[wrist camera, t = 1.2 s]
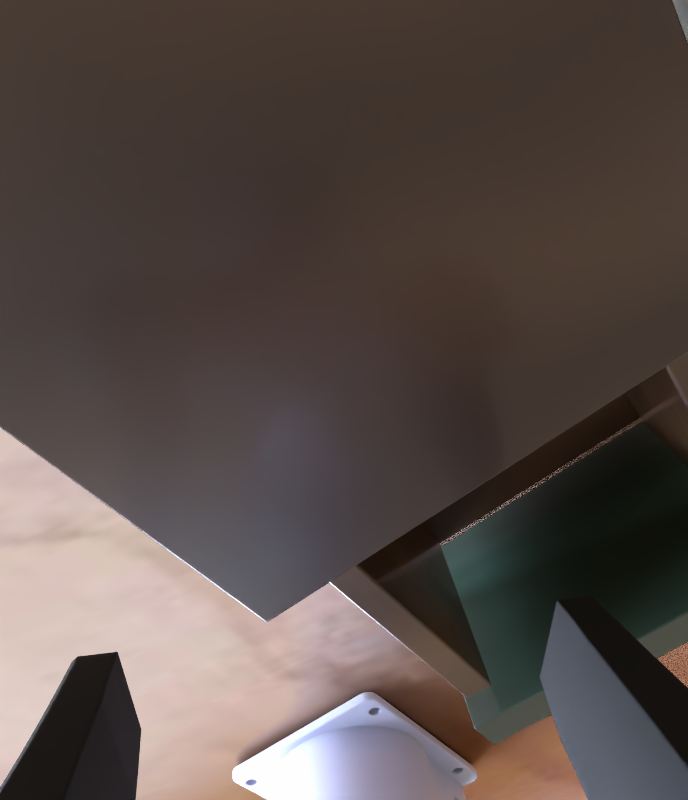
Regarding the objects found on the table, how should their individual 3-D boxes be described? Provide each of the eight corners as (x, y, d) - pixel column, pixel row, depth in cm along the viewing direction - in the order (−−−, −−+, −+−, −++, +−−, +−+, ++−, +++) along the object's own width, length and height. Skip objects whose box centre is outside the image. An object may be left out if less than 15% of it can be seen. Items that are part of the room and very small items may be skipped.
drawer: (722, 494, 23) (868, 640, 18) (490, 629, 25) (557, 795, 20) (511, 104, 15) (656, 153, 10) (202, 348, 18) (183, 497, 12)
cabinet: (573, 184, 17) (781, 293, 11) (259, 415, 20) (266, 623, 13) (251, -429, 11) (261, -1122, 4) (-151, 21, 14) (-546, 30, 7)
